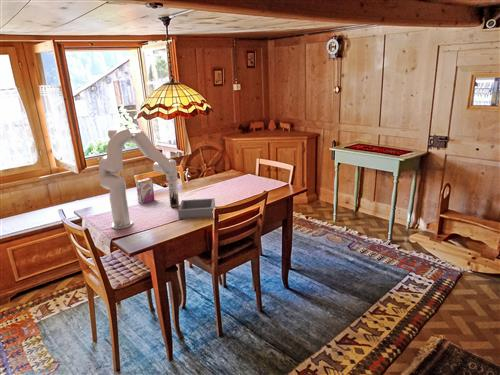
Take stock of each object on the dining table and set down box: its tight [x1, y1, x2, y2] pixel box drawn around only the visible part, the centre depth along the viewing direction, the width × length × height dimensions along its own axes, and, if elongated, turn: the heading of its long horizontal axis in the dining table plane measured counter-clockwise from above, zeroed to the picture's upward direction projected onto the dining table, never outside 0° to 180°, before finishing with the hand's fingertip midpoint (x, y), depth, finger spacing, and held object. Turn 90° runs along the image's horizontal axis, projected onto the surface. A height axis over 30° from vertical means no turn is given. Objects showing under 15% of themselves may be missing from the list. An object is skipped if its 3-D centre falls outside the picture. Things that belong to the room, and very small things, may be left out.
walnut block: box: [168, 192, 180, 208], centre depth 250 cm, size 5×5×9 cm
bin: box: [177, 198, 216, 220], centre depth 236 cm, size 20×22×6 cm
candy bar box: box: [135, 177, 155, 205], centre depth 263 cm, size 11×5×16 cm, turn 141°
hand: (174, 202), depth 250 cm, fingers closed on walnut block, 5 cm apart
